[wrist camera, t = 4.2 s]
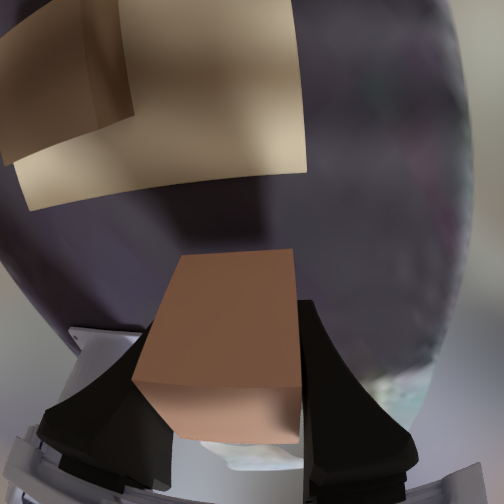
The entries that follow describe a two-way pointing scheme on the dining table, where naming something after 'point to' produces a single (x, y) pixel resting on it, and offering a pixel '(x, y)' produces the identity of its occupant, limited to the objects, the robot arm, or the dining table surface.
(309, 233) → the dining table surface
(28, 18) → the base block
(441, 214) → the dining table surface
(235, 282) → the top block
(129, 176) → the board
